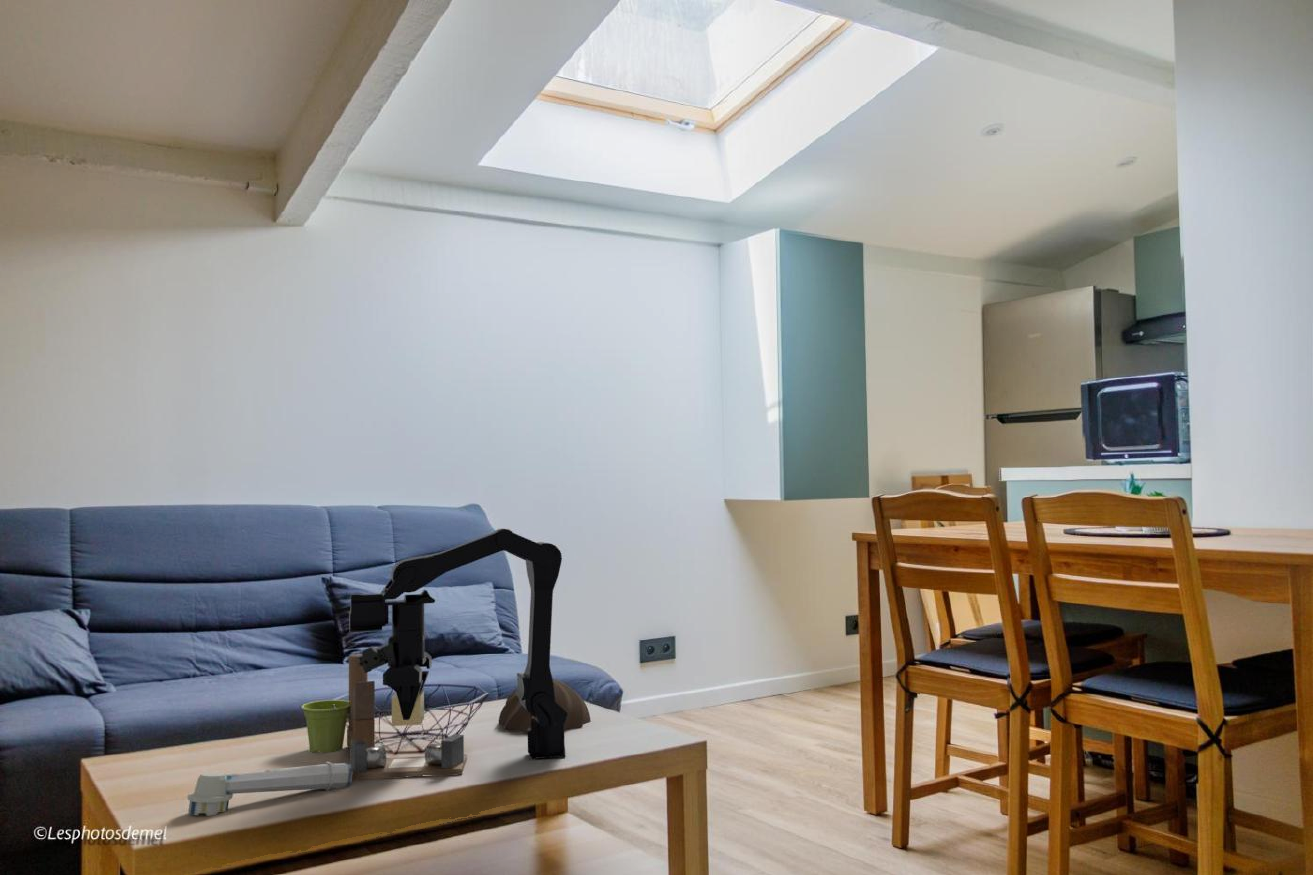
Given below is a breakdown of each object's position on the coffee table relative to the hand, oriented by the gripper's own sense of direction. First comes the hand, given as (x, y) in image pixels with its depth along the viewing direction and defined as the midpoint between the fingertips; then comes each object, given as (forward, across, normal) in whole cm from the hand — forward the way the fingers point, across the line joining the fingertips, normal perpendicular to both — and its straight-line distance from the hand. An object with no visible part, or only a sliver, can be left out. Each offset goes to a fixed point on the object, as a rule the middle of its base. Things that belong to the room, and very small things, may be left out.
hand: (408, 716), depth 174 cm
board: (+9, 0, 0) cm, 9 cm away
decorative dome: (+10, -32, +24) cm, 42 cm away
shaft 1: (+8, +2, -7) cm, 11 cm away
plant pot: (+10, -18, -18) cm, 27 cm away
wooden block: (+10, -14, -11) cm, 21 cm away
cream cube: (+1, 0, 0) cm, 1 cm away
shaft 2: (+8, +2, +6) cm, 11 cm away
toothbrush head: (+10, +14, -20) cm, 26 cm away
